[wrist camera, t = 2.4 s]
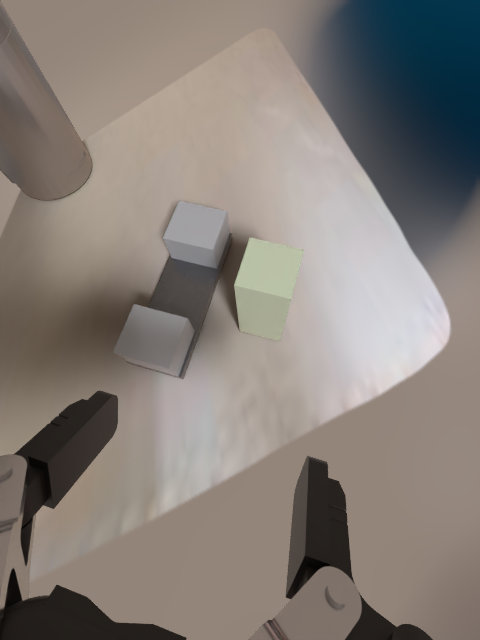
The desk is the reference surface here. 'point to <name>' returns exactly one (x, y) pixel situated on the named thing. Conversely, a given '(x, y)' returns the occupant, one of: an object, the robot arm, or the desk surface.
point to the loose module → (266, 287)
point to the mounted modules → (164, 328)
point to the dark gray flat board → (187, 295)
